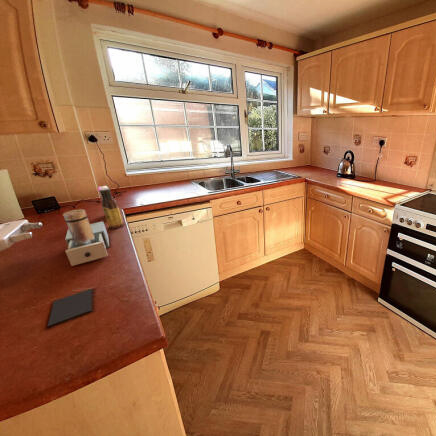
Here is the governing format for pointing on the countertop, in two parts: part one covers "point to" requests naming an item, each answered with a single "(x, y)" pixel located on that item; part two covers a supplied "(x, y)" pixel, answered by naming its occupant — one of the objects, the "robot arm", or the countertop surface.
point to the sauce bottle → (111, 209)
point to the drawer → (86, 251)
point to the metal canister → (79, 227)
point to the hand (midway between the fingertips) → (36, 229)
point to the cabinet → (96, 229)
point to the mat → (71, 307)
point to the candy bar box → (99, 190)
